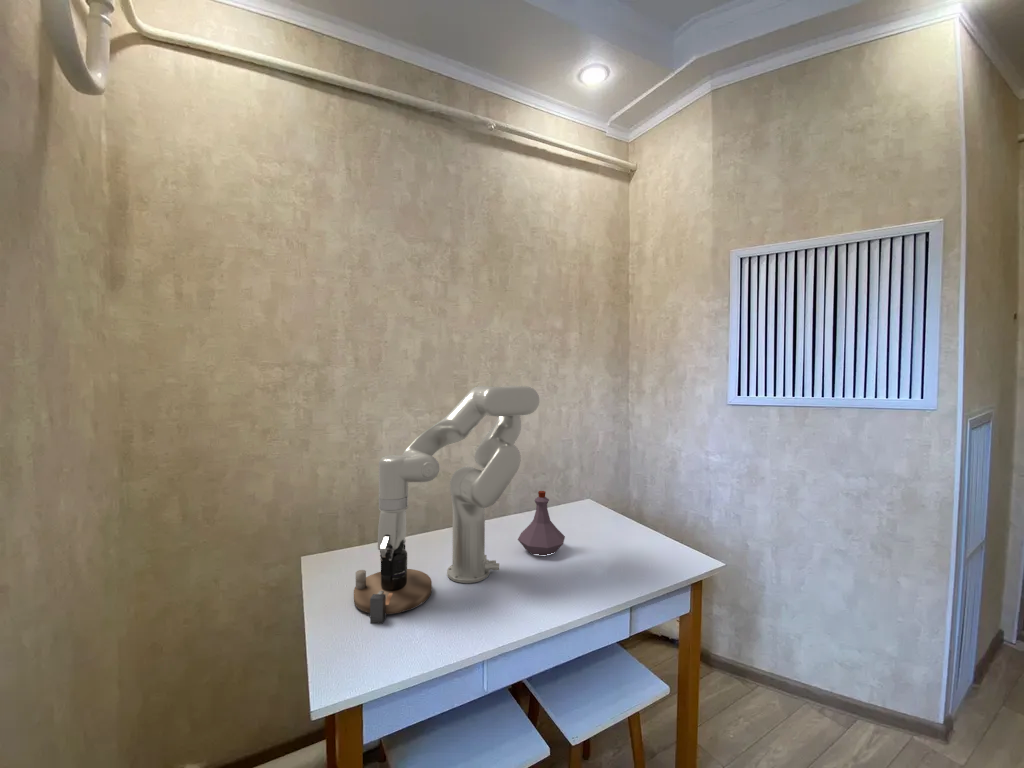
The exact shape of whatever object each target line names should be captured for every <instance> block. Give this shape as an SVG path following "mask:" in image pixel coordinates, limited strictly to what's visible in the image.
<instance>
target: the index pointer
mask: <svg viewBox="0 0 1024 768" xmlns="http://www.w3.org/2000/svg"><path fill="white" fill-rule="evenodd" d="M386 615H387V614H386V594H384V591H379V593H378V594H373V595H372V597H371V598H370V613H369V619H370V624H381V625H382V624H384V623H385V620H386V618H387V616H386Z"/></svg>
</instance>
